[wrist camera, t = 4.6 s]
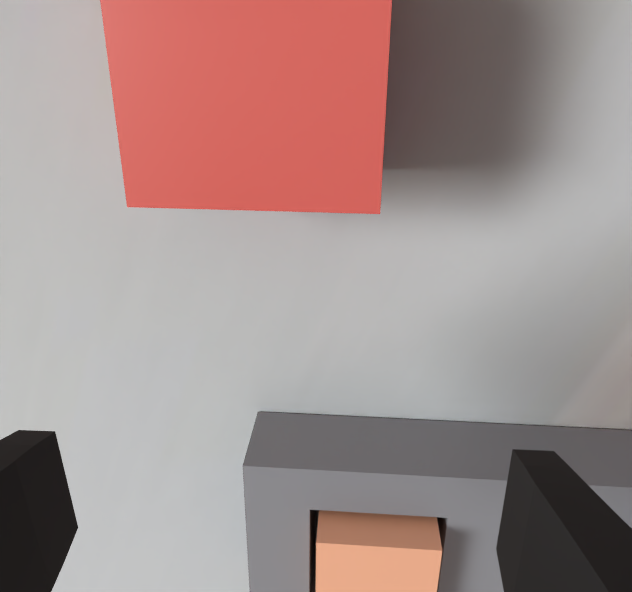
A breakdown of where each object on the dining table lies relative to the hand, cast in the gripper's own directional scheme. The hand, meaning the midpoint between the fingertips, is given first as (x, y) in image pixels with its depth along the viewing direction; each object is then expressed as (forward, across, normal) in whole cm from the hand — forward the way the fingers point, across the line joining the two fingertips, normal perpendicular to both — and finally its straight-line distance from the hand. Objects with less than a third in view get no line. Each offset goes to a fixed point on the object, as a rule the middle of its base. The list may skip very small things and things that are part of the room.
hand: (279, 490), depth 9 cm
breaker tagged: (+10, -2, +10) cm, 14 cm away
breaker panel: (+10, -6, +10) cm, 16 cm away
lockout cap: (+10, +1, -6) cm, 12 cm away
